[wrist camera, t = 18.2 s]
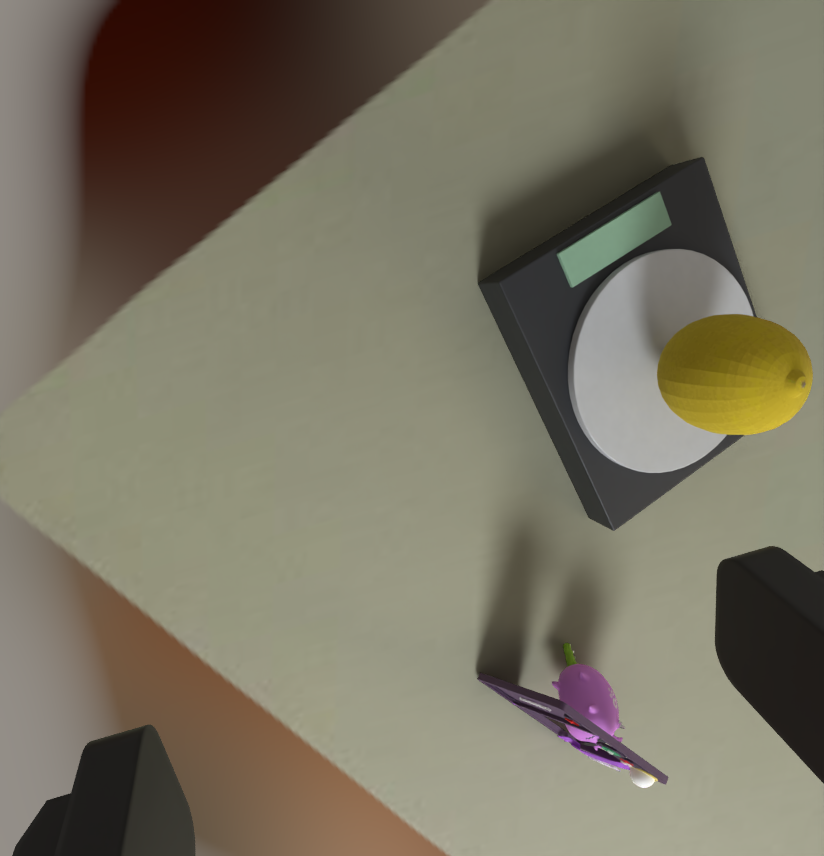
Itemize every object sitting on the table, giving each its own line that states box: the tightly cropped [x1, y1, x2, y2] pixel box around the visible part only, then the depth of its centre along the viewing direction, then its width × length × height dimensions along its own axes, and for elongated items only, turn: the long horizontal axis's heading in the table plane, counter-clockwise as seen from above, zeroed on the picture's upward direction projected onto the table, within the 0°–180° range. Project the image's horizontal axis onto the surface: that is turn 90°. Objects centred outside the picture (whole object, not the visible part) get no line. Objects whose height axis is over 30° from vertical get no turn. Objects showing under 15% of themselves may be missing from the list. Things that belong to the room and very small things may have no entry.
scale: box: [478, 157, 756, 531], centre depth 36 cm, size 15×13×3 cm
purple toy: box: [477, 643, 668, 788], centre depth 37 cm, size 7×5×9 cm
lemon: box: [657, 314, 813, 435], centre depth 31 cm, size 6×6×8 cm
